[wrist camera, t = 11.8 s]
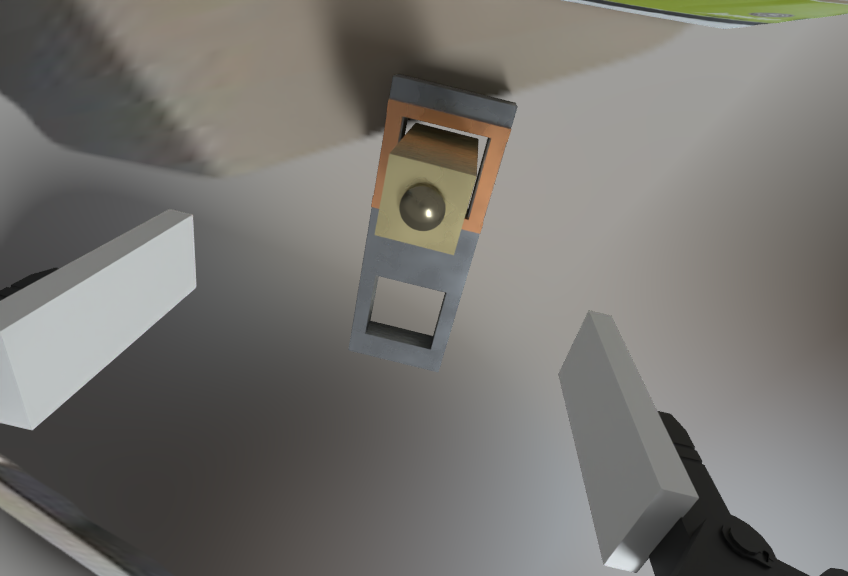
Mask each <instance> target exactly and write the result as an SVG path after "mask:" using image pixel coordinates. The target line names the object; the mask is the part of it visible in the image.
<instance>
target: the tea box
mask: <svg viewBox="0 0 848 576" xmlns="http://www.w3.org/2000/svg"><path fill="white" fill-rule="evenodd" d="M563 1H569V2H575V3H581V4H586V5H591V6H597V7H602V8H607V9H613V10H618V11H624V12H630V13H635V14H641V15H647V16H652V17H658V18H664V19H669V20H675V21H681V22H686V23H692V24H698V25H705V26H710V27H717V28H723V29H727V28H738V27H747V26H753V25H758V24H768V23H779V22H786V21H792V20H803V19H811V18H820V17H827V16H834V15H841V14H848V0H563Z"/></svg>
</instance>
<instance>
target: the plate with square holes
mask: <svg viewBox="0 0 848 576" xmlns="http://www.w3.org/2000/svg"><path fill="white" fill-rule="evenodd" d="M516 110H517V105H516V103H514V102H510V101H506V100H502V99H498V98H494V97H490V96H486V95H482V94H478V93H474V92H470V91H466V90H461V89H457V88H453V87H449V86H445V85H441V84H437V83H433V82H429V81H425V80H421V79H417V78H413V77H409V76H405V75H401V74H397V75H394V76H393V80H392V86H391V92H390V98H389V100H388V106H387V117H386V123H385V129H384V135H383V141H382V148H381V154H380V161H379V166H378V172H377V178H376V185H375V191H374V195H373V198H372V205H371V207H372V209H371V215H370V221H369V227H368V234H367V240H366V246H365V252H364V258H363V264H362V271H361V277H360V283H359V289H358V295H357V301H356V308H355V314H354V320H353V326H352V332H351V338H350V344H349V350H350V351H354V352H358V353H362V354H366V355H370V356H374V357H378V358H382V359H387V360H391V361H394V362H399V363H403V364H407V365H411V366H415V367H419V368H423V369H427V370H431V371H436V372H439V368H440V365H441V361H442V358H443V355H444V352H445V348H446V345H447V341H448V338H449V335H450V332H451V328H452V325H453V322H454V318H455V315H456V311H457V308H458V305H459V301H460V298H461V295H462V291H463V288H464V285H465V281H466V278H467V274H468V271H469V268H470V264H471V261H472V258H473V254H474V251H475V248H476V244H477V241H478V238H479V234H480V232H481V229H482V226H483V221H484V217H485V214H486V210H487V207H488V204H489V201H490V197H491V194H492V191H493V187H494V184H495V180H496V177H497V174H498V170H499V167H500V163H501V160H502V157H503V154H504V150H505V147H506V144H507V142H508V138H509V135H510V132H511V127H512V124H513V120H514V117H515V113H516ZM408 118H412V119H416V120H420V121H424V122H428V123H432V124H436V125H440V126H444V127H448V128H452V129H457V130H461V131H464V132H469V133H473V134H477V135H481V136H485V137H488V139H487V144H486V147H485V150H484V154H483V158H482V161H481V165H480V168H479V172H478V176H477V179H476V183H475V186H474V190H473V194H472V198H471V201H470V205H469V208H468V209H467V211H466V215H465V218H464V222H463V225H462V229H461V232H460V236H459V239H458V243H457V246H456V250H455V253H454V255H451V254H447V253H443V252H439V251H435V250H431V249H427V248H423V247H419V246H416V245H412V244H408V243H404V242H400V241H396V240H392V239H388V238H384V237H381V236H377V235H375V229H376V224H377V218H378V213H379V207H380V202H381V196H382V191H383V185H384V180H385V175H386V169H387V164H388V158H389V153H390V152H391V151H392V150H393V149H394V148H395V146H396V145H397V144H398V143H399V142H400V141H401V139H402V138H403V137H404V136H405V131H406V125H407V120H408ZM379 276H381V277H385V278H389V279H393V280H397V281H401V282H405V283H409V284H413V285H417V286H421V287H425V288H429V289H434V290H437V291H442V292H445V295H444V299H443V302H442V306H441V310H440V314H439V317H438V321H437V324H436V328H435V331H434V335H433V336H430V335H426V334H422V333H418V332H414V331H409V330H406V329H402V328H398V327H394V326H390V325H385V324H381V323H377V322H373V321H370V319H371V314H372V309H373V303H374V297H375V293H376V287H377V282H378V277H379Z"/></svg>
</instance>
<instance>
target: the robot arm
mask: <svg viewBox="0 0 848 576" xmlns="http://www.w3.org/2000/svg"><path fill="white" fill-rule="evenodd" d="M195 288H196V270H195V249H194V230H193V215H192V214H188V213H184V212H180V211H176V210H171V209H169V210H167V211H165V212H163V213H161V214H159V215H157V216H156V217H154V218H152V219H150V220H148V221H147V222H145V223H143V224H141V225H139V226H137V227H135V228H134V229H132V230H130V231H128V232H127V233H124V234H123V235H121V236H119V237H117V238H115V239H113V240H111V241H110V242H108V243H106V244H104V245H102V246H100V247H99V248H97V249H95V250H93V251H91V252H89V253H87V254H86V255H84V256H82V257H80V258H78V259H76V260H75V261H73V262H71V263H69V264H67V265H65V266H64V267H62V268H60V269H59V268H53V269H49V270H46V271H42V272H39V273H35V274H32V275H29V276H27V277H25V278H23V279H22V280H20V281H18V282H16V283H14V284H12V285H11V287H10V288H9V287H6V288H4V289H3V290H0V423H4V424H8V425H12V426H16V427H20V428H25V429H29V430H33V429H34V428H35V427H36V426H38V425H39V424H40V423H41V422H42V421H43V420H44V419H46V418H47V417H48V416H49V415H50V414H51V413H53V412H54V411H55V410H56V409H57V408H58V407H59V406H61V405H62V404H63V403H64V402H65V401H66V400H67V399H69V398H70V397H71V396H72V395H73V394H74V393H76V392H77V391H78V390H79V389H80V388H81V387H82V386H84V385H85V384H86V383H87V382H88V381H89V380H90V379H92V378H93V377H94V376H95V375H96V374H97V373H99V372H100V371H101V370H102V369H103V368H104V367H105V366H107V365H108V364H109V363H110V362H111V361H112V360H113V359H115V358H116V357H117V356H118V355H119V354H120V353H121V352H123V351H124V350H125V349H126V348H127V347H128V346H129V345H131V344H132V343H133V342H134V341H135V340H136V339H138V337H140V336H141V335H142V334H143V333H144V332H145V331H147V330H148V329H149V328H150V327H151V326H152V325H154V324H155V323H156V322H157V321H158V320H159V319H160V318H161V317H163V316H164V315H165V314H166V313H167V312H169V310H171V309H172V308H173V307H174V306H175V305H177V304H178V303H179V302H180V301H181V300H182V299H183V298H184V297H186V296H187V295H188V294H189V293H190V292H191V291H193V290H194V289H195ZM558 375H559V379H560V383H561V387H562V391H563V396H564V400H565V404H566V409H567V413H568V417H569V421H570V425H571V429H572V434H573V438H574V442H575V446H576V451H577V455H578V459H579V463H580V468H581V472H582V476H583V480H584V485H585V488H586V493H587V497H588V501H589V505H590V510H591V514H592V518H593V522H594V527H595V531H596V535H597V539H598V543H599V548H600V552H601V556H602V560H603V565H605V566H609V567H614V568H618V569H622V570H626V571H630V572H634V573H637V572H638V571H639V569H640V568H641V567H642V566H643V565H644V563H645V562H646V561H647V560H648V559H650V562H651V565H652V568H653V571H654V574H655V576H809V575H807V574H805V573H803V572H801V571H799V570H797V569H795V568H794V567H791V566H790V565H787V564H786V563H784V562H782V561H780V560H777V559H776V557H775V555H774V552H773V550H772V548H771V547H770V546H769V544H768V543H767V542H766V541H765V539H764V538H763V537H762V536H761V535H760V534H759V533H758V532H757V531H756V530H754V529H753V528H752V527H751V526H750V525H749V524H747V523H745V522H744V521H742V520H740V519H739V518H737V517H735V516H733V515H731V514H730V513H729V511H728V509H727V507H726V505H725V503H724V501H723V499H722V497H721V495H720V494H719V492H718V490H717V488H716V486H715V484H714V482H713V480H712V478H711V477H710V475H709V473H708V471H707V469H706V467H705V465H703V464H702V460H701V458H700V456H699V454H698V452H697V451H696V450H695V446H694V445H693V443H692V441H691V439H690V437H689V435H688V433H687V431H686V430H685V429H684V428H683V427H682V426H681V424H680V423H679V422H678V421H677V420H676V419H675V418H674V417H673V416H672V415H671V414H669V413H664V412H660V411H657V409H656V408H655V405H654V403H653V401H652V399H651V397H650V395H649V393H648V391H647V389H646V387H645V384H644V382H643V380H642V378H641V376H640V374H639V372H638V370H637V368H636V366H635V364H634V362H633V359H632V357H631V355H630V353H629V351H628V349H627V347H626V345H625V343H624V341H623V339H622V336H621V335H620V332H619V330H618V328H617V326H616V324H615V322H614V320H613V318H612V316H610V315H606V314H602V313H598V312H593V311H590V310H589V311H588V313H587V315H586V317H585V319H584V321H583V323H582V326H581V328H580V330H579V332H578V334H577V336H576V338H575V340H574V342H573V344H572V346H571V349H570V351H569V353H568V355H567V357H566V359H565V361H564V363H563V365H562V368H561V370H560V372H559V374H558ZM820 576H848V572H847V571H844V570H842V569H835V568H830V569H828V570H826V571H825V572H824V573H822V574H821V575H820Z"/></svg>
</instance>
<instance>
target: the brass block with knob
mask: <svg viewBox="0 0 848 576" xmlns="http://www.w3.org/2000/svg"><path fill="white" fill-rule="evenodd" d="M477 158H478V139H477V138H473V137H469V136H465V135H461V134H457V133H454V132H450V131H446V130H442V129H438V128H434V127H430V126H427V125H423V124H419V123H415V124H414V125H413V126H412V128H411V129H410V130H409V131H408V132H407V134H406V135H405V136H404V137H403V138H402V139H401V141H400V142H399V143H398V144H397V145H396V146H395V148H394V149H393V150H392V151H391V152H390V153H389V158H388V164H387V169H386V175H385V180H384V185H383V191H382V196H381V202H380V207H379V213H378V218H377V224H376V229H375V235H377V236H381V237H384V238H388V239H392V240H396V241H400V242H404V243H408V244H412V245H416V246H419V247H423V248H427V249H431V250H435V251H439V252H443V253H447V254H451V255H454V253H455V250H456V246H457V243H458V239H459V236H460V232H461V229H462V225H463V222H464V218H465V215H466V211H467V208H468V204H469V201H470V197H471V194H472V190H473V187H474V183H475V180H476V177H477Z"/></svg>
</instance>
